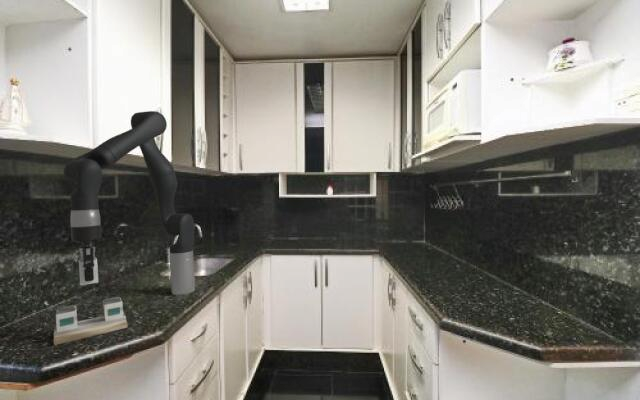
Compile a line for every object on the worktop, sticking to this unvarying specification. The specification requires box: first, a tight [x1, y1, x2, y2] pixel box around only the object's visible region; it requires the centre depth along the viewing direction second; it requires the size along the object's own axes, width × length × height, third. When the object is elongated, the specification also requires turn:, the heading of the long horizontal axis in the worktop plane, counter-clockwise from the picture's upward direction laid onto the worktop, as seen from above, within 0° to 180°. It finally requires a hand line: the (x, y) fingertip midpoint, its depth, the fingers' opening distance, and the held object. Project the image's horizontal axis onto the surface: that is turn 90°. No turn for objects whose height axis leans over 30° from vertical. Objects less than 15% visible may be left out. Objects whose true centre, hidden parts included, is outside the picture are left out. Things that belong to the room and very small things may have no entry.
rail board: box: [53, 296, 129, 346], centre depth 103 cm, size 12×18×8 cm, turn 127°
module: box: [78, 257, 99, 286], centre depth 102 cm, size 6×4×8 cm
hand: (88, 278), depth 102 cm, fingers closed on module, 5 cm apart
